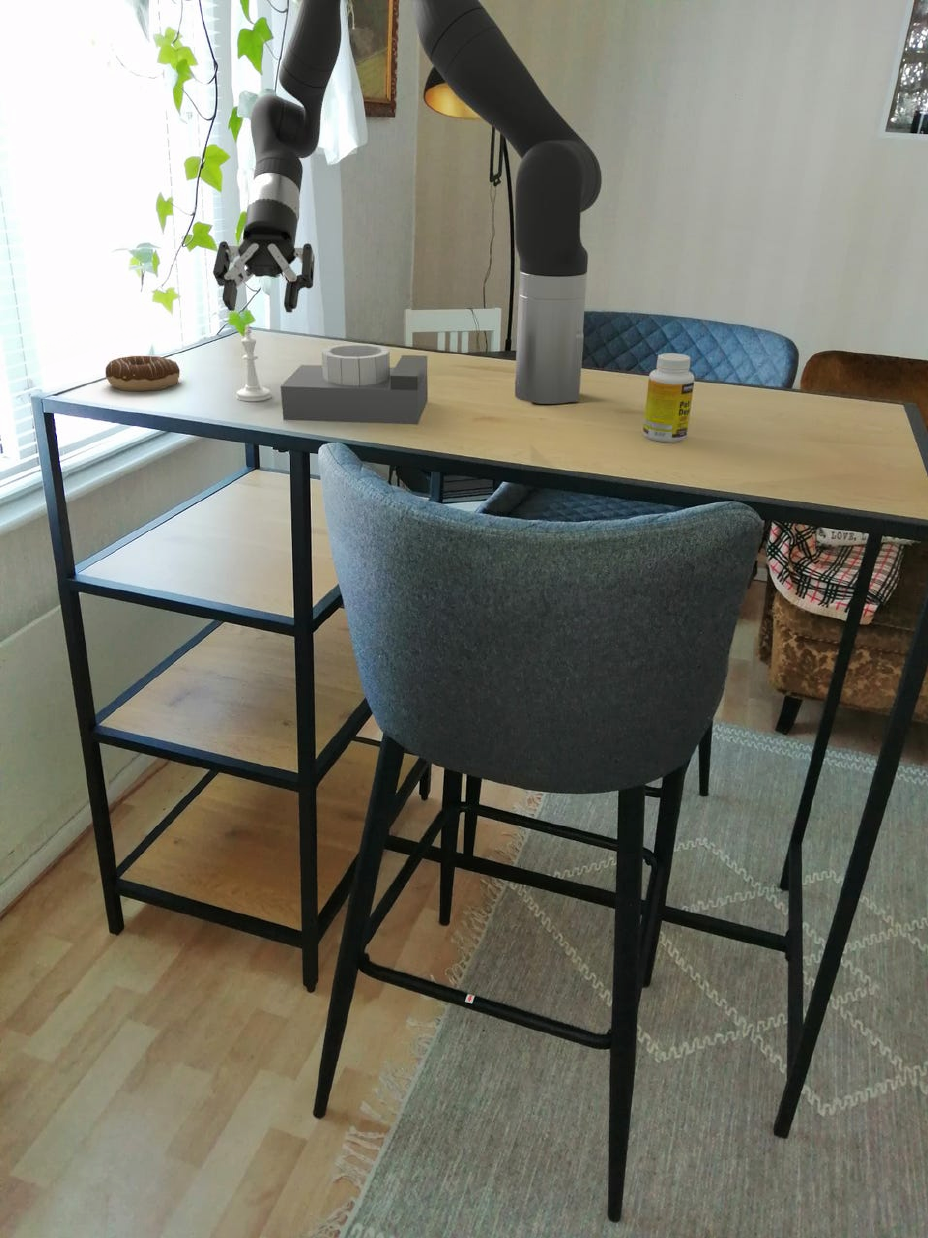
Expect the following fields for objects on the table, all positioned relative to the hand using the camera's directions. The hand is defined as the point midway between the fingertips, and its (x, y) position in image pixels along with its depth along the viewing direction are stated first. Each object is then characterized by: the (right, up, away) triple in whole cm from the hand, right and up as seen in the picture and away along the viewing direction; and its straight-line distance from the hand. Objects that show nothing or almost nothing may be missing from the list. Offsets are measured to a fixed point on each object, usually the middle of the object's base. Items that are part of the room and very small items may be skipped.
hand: (258, 308), depth 134 cm
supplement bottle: (+55, -22, -15) cm, 61 cm away
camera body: (+15, -16, -6) cm, 23 cm away
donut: (-18, -10, +5) cm, 21 cm away
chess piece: (-1, -13, 0) cm, 13 cm away
